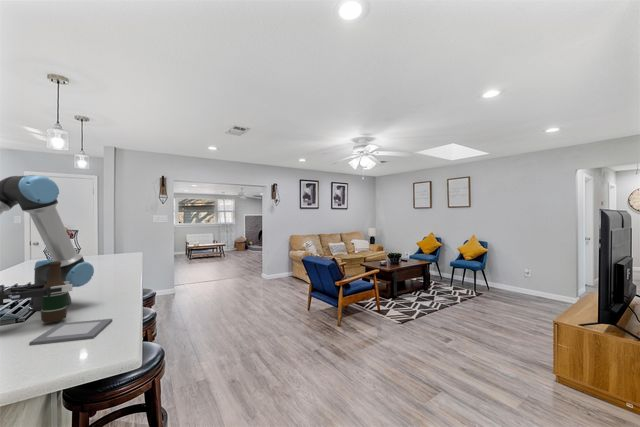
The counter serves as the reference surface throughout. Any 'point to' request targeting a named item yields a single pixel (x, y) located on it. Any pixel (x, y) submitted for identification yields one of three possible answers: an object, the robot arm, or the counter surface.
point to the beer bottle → (54, 297)
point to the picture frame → (72, 331)
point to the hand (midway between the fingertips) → (70, 285)
